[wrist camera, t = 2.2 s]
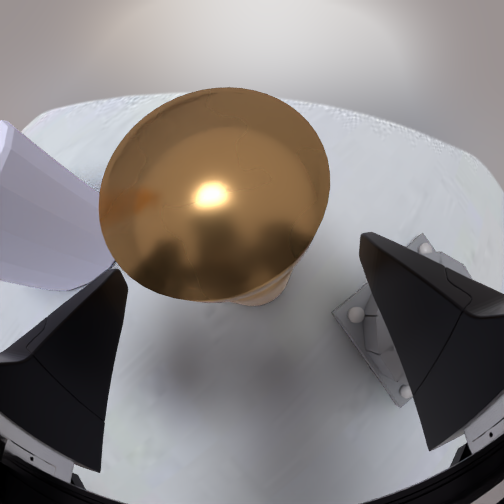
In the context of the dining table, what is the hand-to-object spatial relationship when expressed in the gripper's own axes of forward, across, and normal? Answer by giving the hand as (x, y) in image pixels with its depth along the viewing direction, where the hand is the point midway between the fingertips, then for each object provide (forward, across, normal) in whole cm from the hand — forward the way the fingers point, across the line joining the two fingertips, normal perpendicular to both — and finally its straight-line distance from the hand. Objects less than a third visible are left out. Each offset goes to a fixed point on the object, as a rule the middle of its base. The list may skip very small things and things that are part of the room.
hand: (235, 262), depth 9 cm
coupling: (+7, 0, +6) cm, 9 cm away
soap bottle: (+10, +16, +3) cm, 19 cm away
